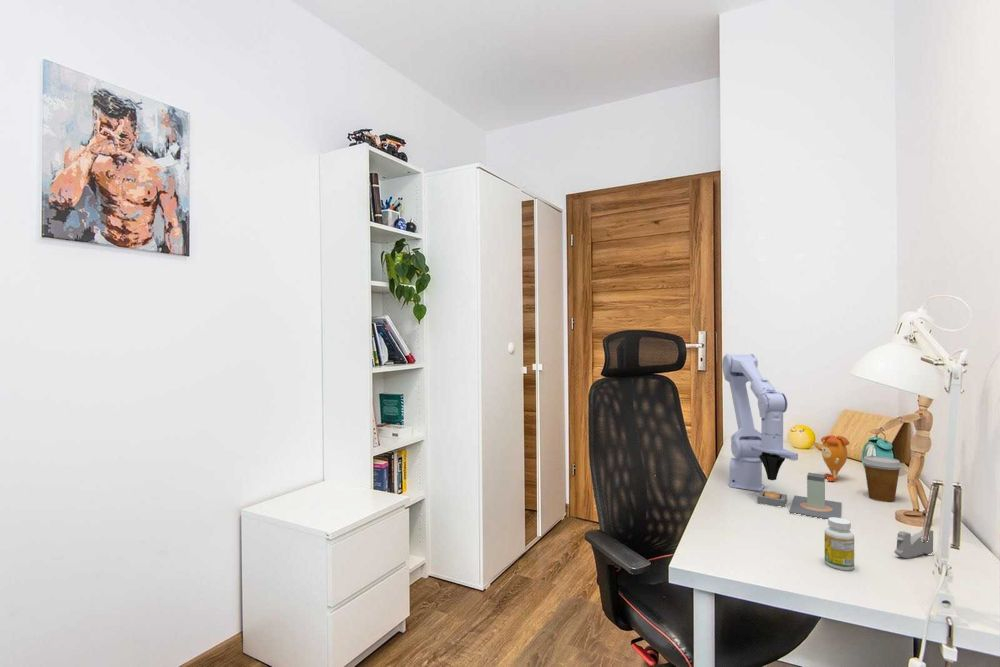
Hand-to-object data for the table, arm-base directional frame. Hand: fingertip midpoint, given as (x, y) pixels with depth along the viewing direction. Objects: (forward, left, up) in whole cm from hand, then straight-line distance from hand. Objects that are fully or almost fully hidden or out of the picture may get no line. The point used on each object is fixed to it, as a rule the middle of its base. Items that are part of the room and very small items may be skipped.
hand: (772, 479), depth 151 cm
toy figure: (+15, +39, -7) cm, 42 cm away
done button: (0, 0, -6) cm, 6 cm away
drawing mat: (+11, +1, -7) cm, 13 cm away
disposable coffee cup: (+27, +23, -7) cm, 36 cm away
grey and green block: (+11, +1, -6) cm, 13 cm away
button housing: (0, 0, -7) cm, 7 cm away
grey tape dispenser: (+31, -24, -7) cm, 40 cm away
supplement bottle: (+17, -39, -7) cm, 43 cm away
